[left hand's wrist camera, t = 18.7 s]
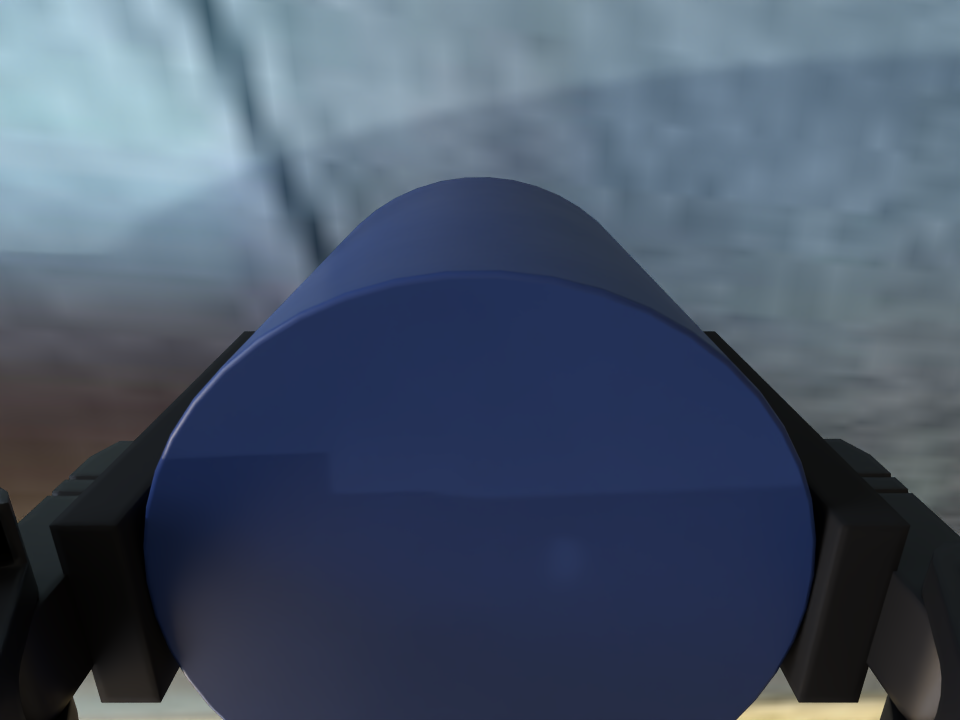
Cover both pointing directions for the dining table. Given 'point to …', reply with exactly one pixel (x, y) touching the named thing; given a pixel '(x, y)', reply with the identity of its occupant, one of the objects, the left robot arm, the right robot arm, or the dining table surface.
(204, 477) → the canister
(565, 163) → the dining table surface
